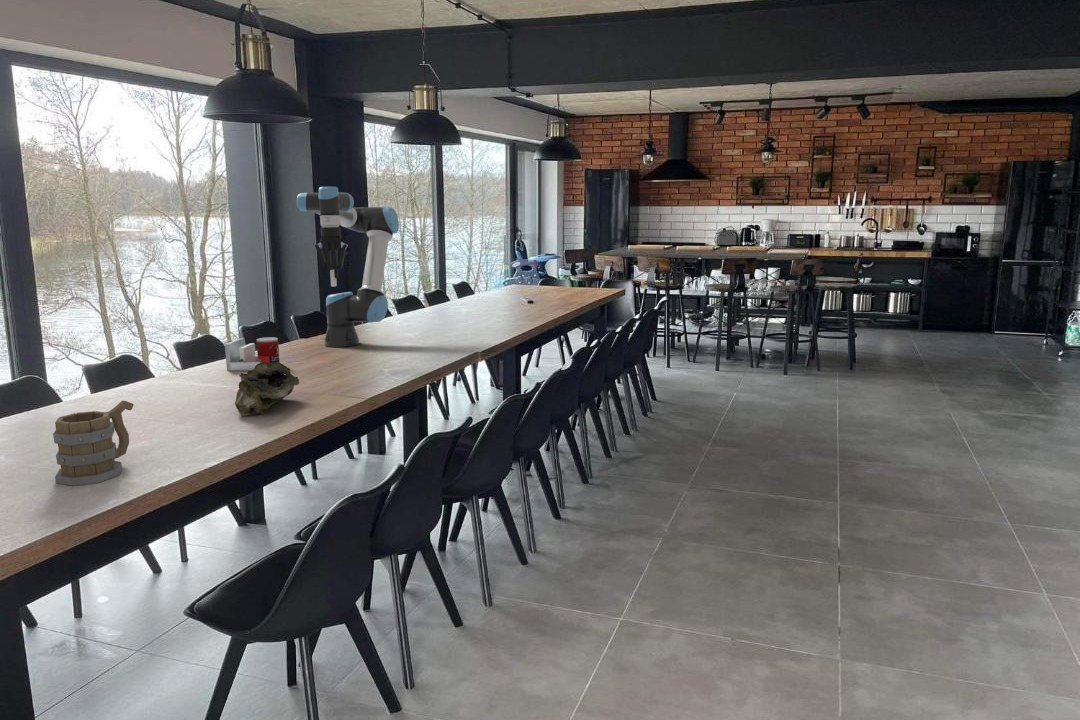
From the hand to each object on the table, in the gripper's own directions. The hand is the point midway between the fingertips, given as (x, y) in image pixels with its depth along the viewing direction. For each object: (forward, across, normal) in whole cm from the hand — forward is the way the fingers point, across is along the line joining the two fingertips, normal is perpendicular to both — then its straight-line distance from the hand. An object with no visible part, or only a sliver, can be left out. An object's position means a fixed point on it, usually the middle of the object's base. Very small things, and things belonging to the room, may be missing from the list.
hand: (333, 286), depth 308 cm
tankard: (+30, -13, -138) cm, 142 cm away
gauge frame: (+29, -28, -18) cm, 44 cm away
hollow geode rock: (+30, +3, -78) cm, 84 cm away
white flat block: (+29, -29, -19) cm, 46 cm away
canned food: (+30, -22, -18) cm, 41 cm away
